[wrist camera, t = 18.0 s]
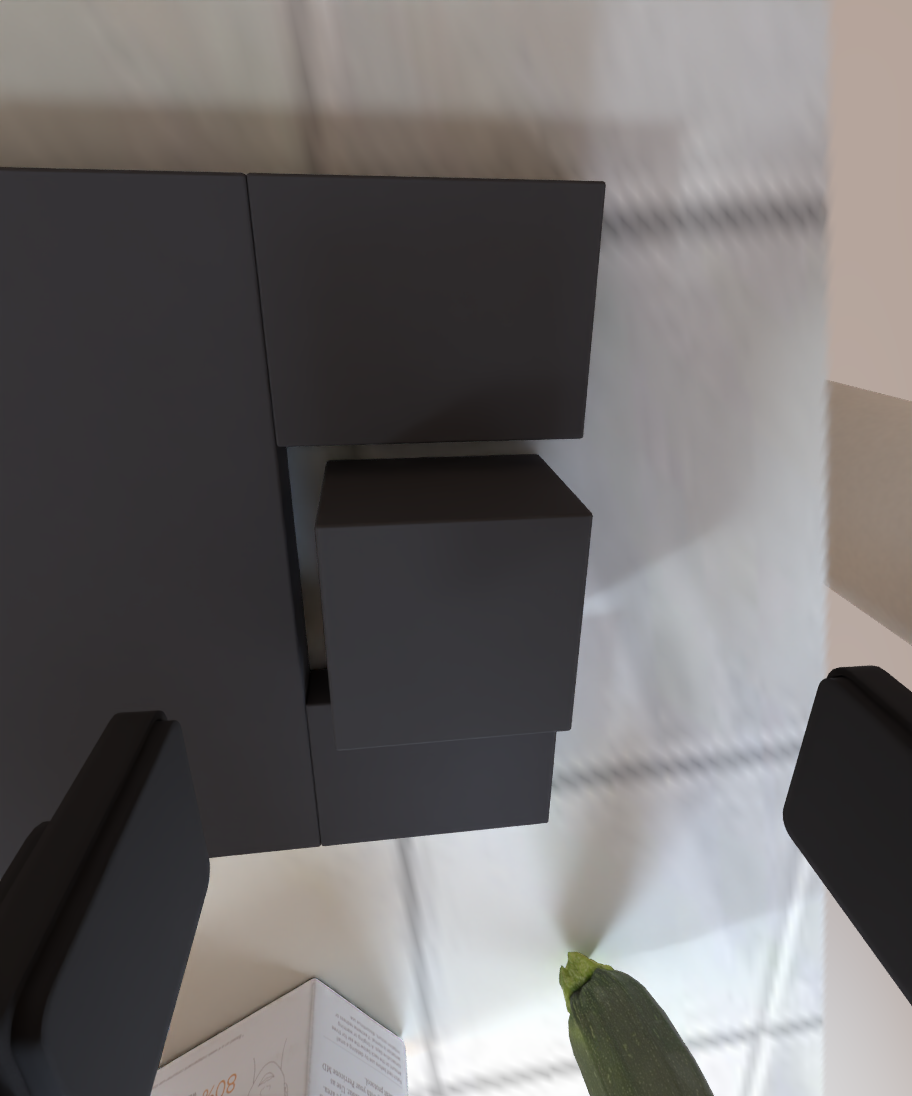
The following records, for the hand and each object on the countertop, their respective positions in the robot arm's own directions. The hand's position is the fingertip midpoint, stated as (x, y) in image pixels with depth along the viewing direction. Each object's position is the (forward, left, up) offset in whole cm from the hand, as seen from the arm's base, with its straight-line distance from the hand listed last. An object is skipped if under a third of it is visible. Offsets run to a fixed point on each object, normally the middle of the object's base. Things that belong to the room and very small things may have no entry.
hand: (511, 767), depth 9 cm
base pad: (+6, 0, -7) cm, 10 cm away
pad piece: (0, 0, -7) cm, 7 cm away
